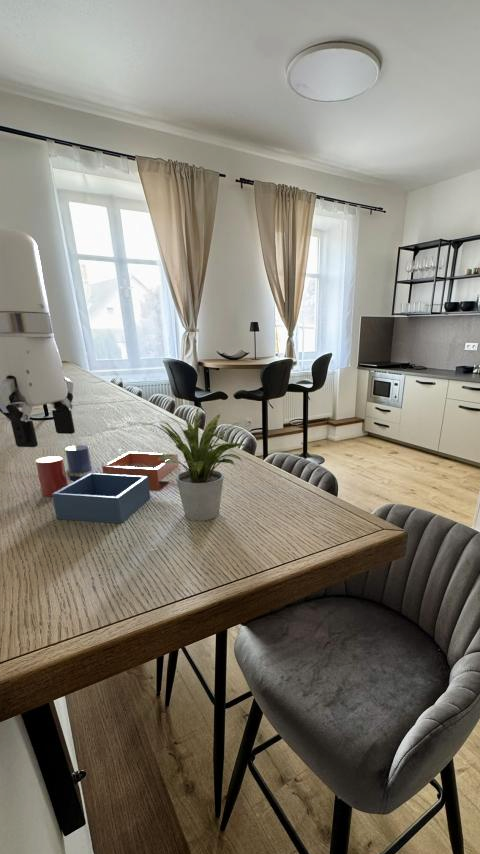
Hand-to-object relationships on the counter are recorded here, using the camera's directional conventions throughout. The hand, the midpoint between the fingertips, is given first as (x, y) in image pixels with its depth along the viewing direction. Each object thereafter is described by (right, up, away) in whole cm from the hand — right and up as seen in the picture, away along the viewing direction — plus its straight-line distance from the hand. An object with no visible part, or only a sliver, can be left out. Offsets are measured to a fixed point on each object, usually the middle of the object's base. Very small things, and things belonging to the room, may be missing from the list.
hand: (47, 439), depth 68 cm
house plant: (+25, -13, -5) cm, 29 cm away
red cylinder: (-1, -9, +4) cm, 9 cm away
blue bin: (+11, -11, -2) cm, 16 cm away
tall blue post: (0, -6, +11) cm, 12 cm away
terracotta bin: (+12, -6, +11) cm, 17 cm away
